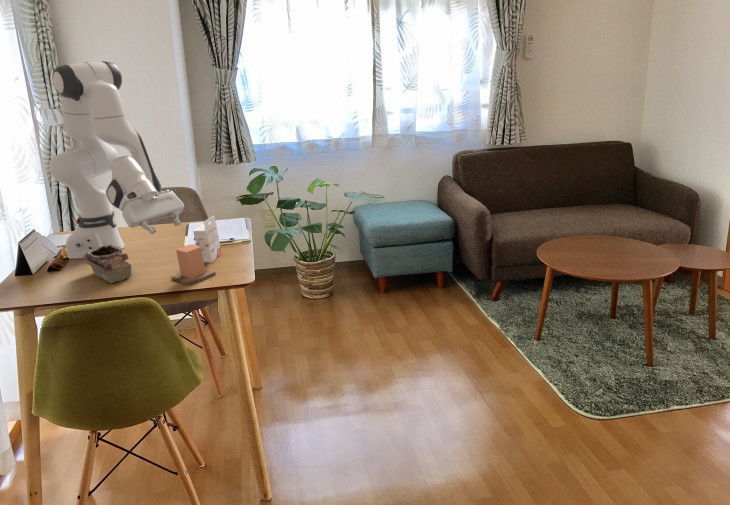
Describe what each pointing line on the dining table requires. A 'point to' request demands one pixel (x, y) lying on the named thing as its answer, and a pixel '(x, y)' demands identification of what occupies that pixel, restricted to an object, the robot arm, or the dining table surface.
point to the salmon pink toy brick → (190, 261)
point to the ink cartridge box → (208, 240)
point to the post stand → (193, 280)
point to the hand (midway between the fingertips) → (166, 228)
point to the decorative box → (108, 263)
